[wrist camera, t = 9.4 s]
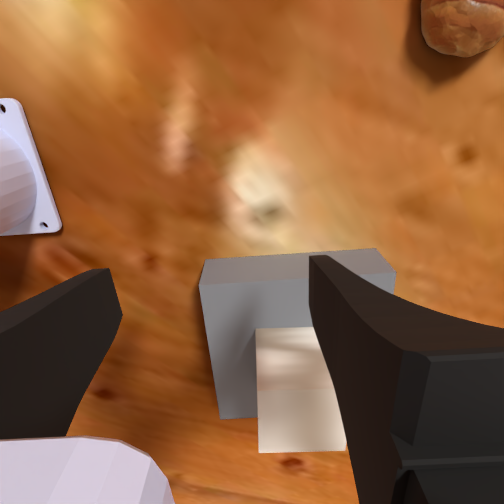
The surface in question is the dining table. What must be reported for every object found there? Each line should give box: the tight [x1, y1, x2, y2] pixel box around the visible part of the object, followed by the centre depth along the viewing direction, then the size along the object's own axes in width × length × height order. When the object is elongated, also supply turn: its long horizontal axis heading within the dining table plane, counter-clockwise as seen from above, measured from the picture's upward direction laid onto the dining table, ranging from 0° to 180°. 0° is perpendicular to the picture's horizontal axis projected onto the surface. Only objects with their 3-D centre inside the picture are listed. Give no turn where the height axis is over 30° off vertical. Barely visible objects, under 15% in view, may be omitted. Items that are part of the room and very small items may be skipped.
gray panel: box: [199, 248, 396, 419], centre depth 24 cm, size 12×12×4 cm
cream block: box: [255, 327, 346, 453], centre depth 20 cm, size 5×5×5 cm
